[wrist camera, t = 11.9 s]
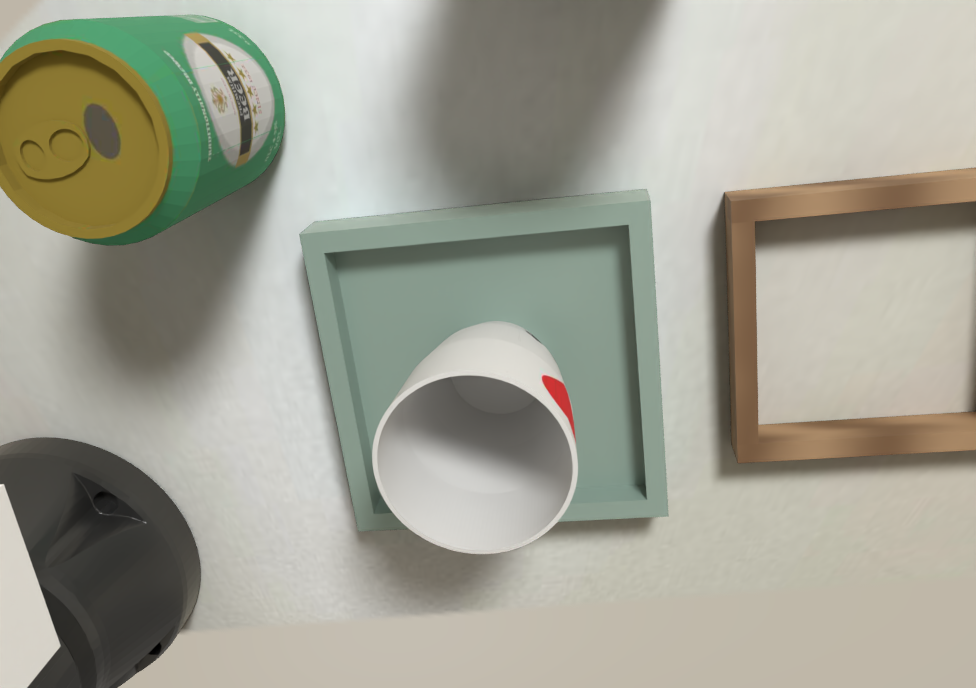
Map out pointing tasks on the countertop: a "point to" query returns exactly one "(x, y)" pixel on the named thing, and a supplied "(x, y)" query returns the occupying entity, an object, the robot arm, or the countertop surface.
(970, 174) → the frame
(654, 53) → the countertop surface
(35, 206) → the beverage can
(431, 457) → the cup
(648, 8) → the countertop surface
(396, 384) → the tray
